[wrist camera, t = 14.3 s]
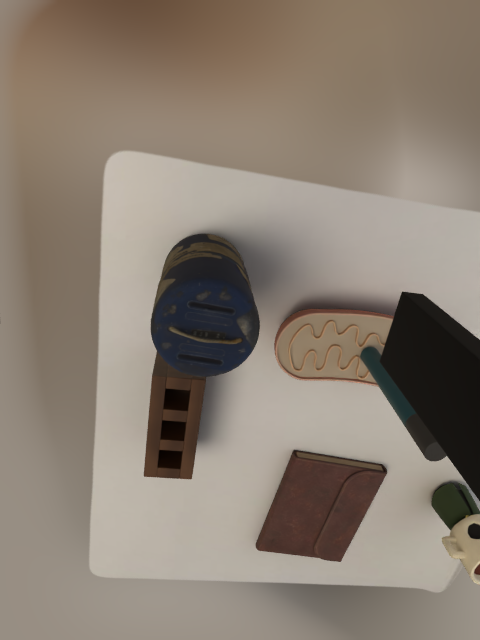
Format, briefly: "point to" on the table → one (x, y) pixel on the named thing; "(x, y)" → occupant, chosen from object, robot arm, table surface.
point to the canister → (204, 308)
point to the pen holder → (173, 422)
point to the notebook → (319, 505)
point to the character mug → (460, 526)
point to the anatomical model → (330, 344)
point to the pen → (402, 406)
